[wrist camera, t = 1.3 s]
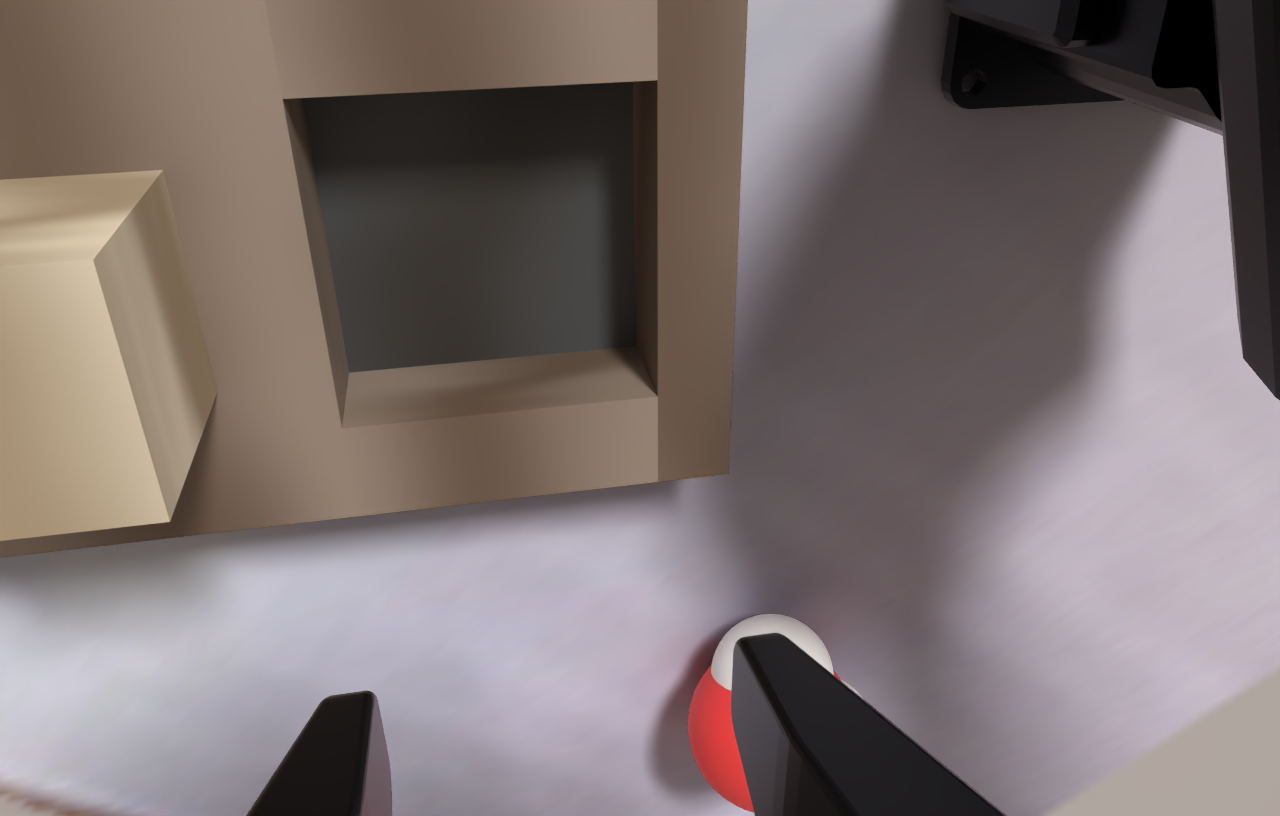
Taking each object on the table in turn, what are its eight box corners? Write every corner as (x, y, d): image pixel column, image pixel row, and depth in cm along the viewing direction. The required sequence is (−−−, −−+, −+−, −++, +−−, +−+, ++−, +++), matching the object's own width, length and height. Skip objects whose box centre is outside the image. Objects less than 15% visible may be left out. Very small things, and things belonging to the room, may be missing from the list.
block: (162, 169, 16) (93, 260, 13) (218, 391, 18) (169, 521, 14) (-115, 187, 15) (-269, 286, 12) (-28, 414, 17) (-137, 556, 14)
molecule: (647, 710, 27) (682, 842, 24) (722, 573, 26) (772, 694, 22) (801, 738, 29) (856, 865, 26) (883, 611, 27) (954, 729, 24)
